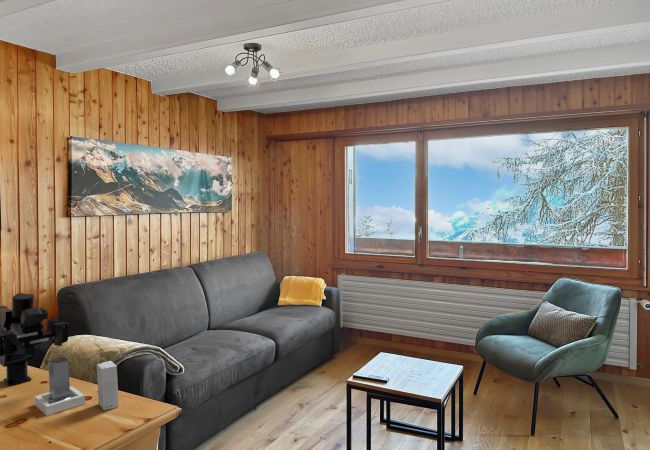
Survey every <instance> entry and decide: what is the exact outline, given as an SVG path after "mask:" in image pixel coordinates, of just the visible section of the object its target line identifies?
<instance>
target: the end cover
mask: <svg viewBox="0 0 650 450" xmlns="http://www.w3.org/2000/svg"><path fill="white" fill-rule="evenodd" d="M48 380H49V381H48V383H49V385H48V386H49V387H48V389H49V392H50V398H48V403H49V404H52V403H55V402H59V401H62V400H65V399H69V398H72V395H71V394H70V360H69V359H68V358H66V357H64V356H63V357H59V358H53V359H50V360H48Z"/></svg>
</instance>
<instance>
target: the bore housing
mask: <svg viewBox="0 0 650 450" xmlns="http://www.w3.org/2000/svg"><path fill="white" fill-rule="evenodd" d="M70 394H71V395H72V398H69V399H65V400H62V401H59V402H55V403H52V404H49V403H48V398H50V391H48V392H45V393H41V394H39V395H34V406H36V407H37V408H38V409H39V410H40V411H41V412H42V413H43V414H44V415H45V416H47V417H48V416H50V415H53V414H54V415H55V414H57V413H60V412H64V411H66V410H69V409H73V408H76V407H79V406H82V405H85V404H86V395H85V394H84V393H82V392H81V391H79V390H78V389H76V388H75V387H74V386H72V385H71V386H70Z"/></svg>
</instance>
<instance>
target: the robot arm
mask: <svg viewBox="0 0 650 450" xmlns="http://www.w3.org/2000/svg"><path fill="white" fill-rule="evenodd" d="M11 297H12V298H11V299H12V300H11V308H9V307H8V306H5V305H1V306H0V366H2V367H3V368H6V378H3V379H2V380H3V382H4V383H5V384H6V385H8V386H13V385H17V384H20V383H25V382H29V381H32V377H31V376H30V375H29V374H28V373H29V372H28V371H29V370H28V368H29V367H28V362H31V361H34V359H35V353H36V346H37V345H42V342H46V341H50V340H51V342H52V344H53V345H54V346H58V347H62V345H63V344H64V343H67V342H68V341H69V329H70V327H69V326H70V325H69V323H68V322H66V321H62V322H56V323H52V325H51V331H48V332H44V331H43V329H44V324H43V323H42V322H44V321H45V320H47V319H48V318H49V311H48V309H46V308H43V307H34V306H35V295H34V294H32V293H23V292H22V293H21V292H20V293H16V294H15V295H13V296H11Z"/></svg>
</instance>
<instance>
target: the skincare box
mask: <svg viewBox="0 0 650 450" xmlns="http://www.w3.org/2000/svg"><path fill="white" fill-rule="evenodd" d="M96 377H97V378H96V379H97V396H98V405H99V407H101V409H102V410H103V411H108V410H113V409H116V408H119V407H120V406H119V385H118V382H119V381H118V366H117V365H116V363H114V362H113V361H112V360H108V361H103V362H99V363H96Z"/></svg>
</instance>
